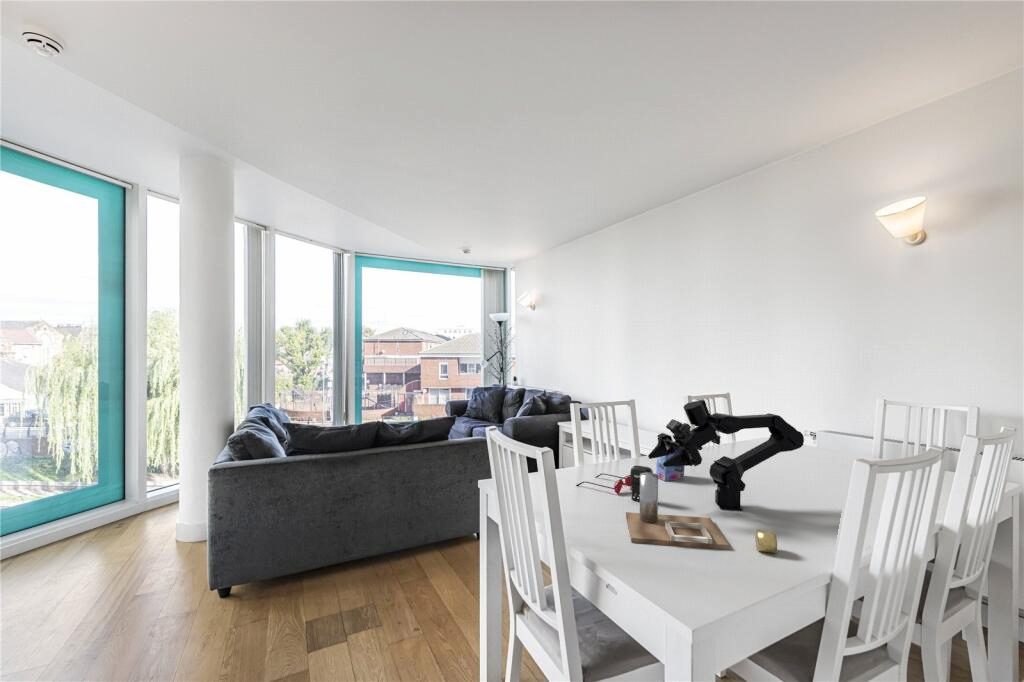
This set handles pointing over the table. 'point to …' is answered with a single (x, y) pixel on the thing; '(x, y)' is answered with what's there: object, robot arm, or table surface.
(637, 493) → the battery charger
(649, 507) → the grey cylinder
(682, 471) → the ink cartridge box
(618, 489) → the glasses
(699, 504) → the table surface
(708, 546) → the board
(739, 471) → the robot arm
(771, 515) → the table surface
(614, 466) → the table surface
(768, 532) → the shiny gold nugget
